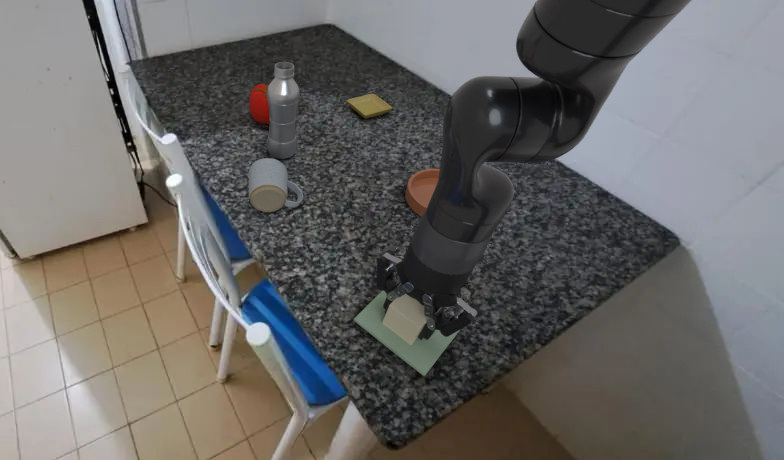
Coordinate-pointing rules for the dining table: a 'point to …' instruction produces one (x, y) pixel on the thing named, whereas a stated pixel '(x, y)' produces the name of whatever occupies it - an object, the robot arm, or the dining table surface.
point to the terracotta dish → (421, 189)
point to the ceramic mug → (271, 186)
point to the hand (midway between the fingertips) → (406, 322)
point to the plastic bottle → (282, 111)
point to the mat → (416, 354)
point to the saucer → (369, 105)
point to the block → (405, 318)
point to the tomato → (260, 104)
